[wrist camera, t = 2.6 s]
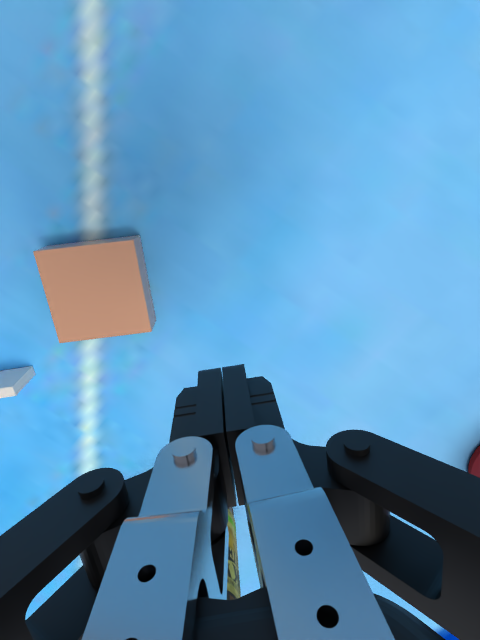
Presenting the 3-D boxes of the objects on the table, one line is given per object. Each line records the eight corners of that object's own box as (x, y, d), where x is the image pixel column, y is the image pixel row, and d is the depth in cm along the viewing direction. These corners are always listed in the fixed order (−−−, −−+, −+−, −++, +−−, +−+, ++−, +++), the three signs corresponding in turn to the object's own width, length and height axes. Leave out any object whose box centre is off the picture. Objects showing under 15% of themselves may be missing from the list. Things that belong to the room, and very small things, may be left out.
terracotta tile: (49, 244, 30) (33, 251, 27) (140, 234, 30) (133, 239, 27) (72, 329, 32) (59, 343, 29) (156, 318, 32) (151, 331, 30)
